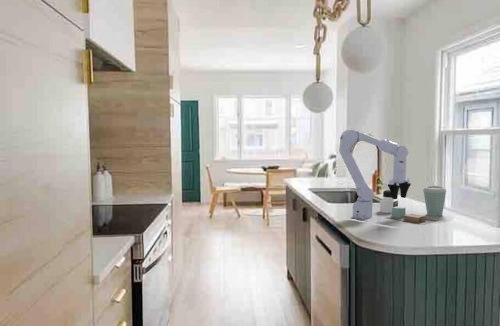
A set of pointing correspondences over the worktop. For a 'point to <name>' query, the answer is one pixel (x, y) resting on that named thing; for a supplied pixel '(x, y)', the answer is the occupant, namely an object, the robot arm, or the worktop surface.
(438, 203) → the disposable coffee cup
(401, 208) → the green cube
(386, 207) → the medicine bottle
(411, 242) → the worktop surface
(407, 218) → the stacking base
